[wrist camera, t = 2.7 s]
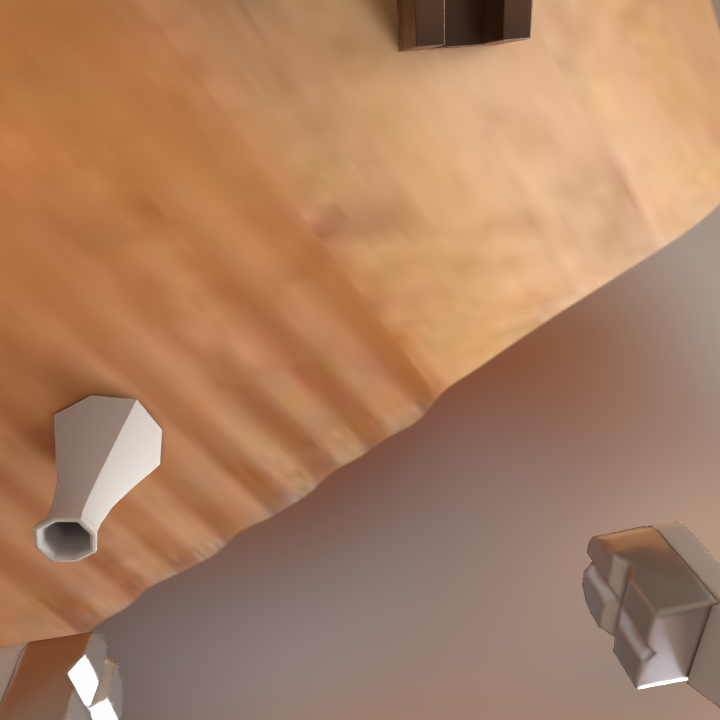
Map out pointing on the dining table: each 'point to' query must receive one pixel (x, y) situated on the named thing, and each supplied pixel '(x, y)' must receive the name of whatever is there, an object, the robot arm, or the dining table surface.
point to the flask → (95, 470)
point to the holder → (461, 23)
